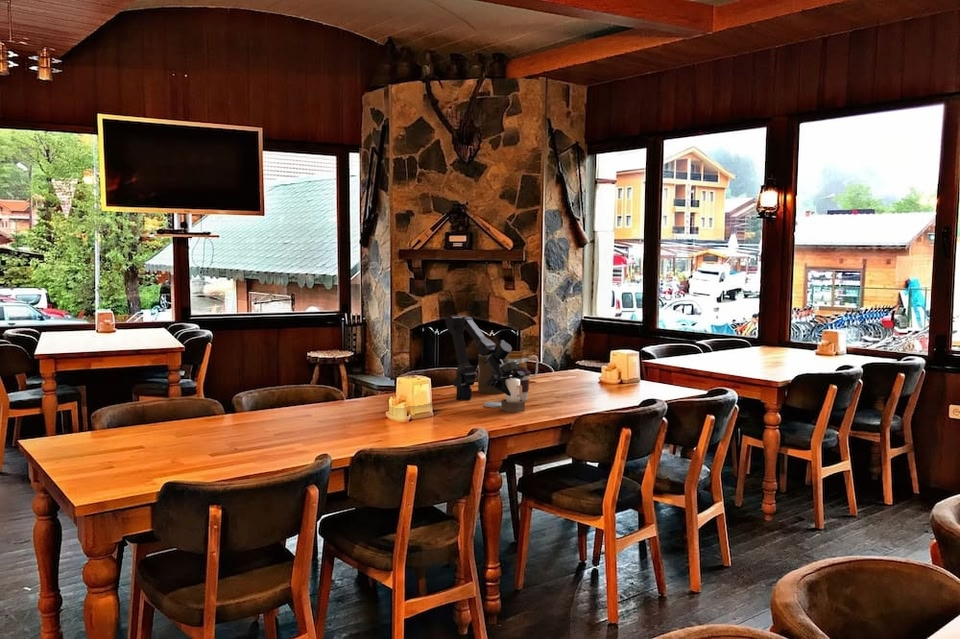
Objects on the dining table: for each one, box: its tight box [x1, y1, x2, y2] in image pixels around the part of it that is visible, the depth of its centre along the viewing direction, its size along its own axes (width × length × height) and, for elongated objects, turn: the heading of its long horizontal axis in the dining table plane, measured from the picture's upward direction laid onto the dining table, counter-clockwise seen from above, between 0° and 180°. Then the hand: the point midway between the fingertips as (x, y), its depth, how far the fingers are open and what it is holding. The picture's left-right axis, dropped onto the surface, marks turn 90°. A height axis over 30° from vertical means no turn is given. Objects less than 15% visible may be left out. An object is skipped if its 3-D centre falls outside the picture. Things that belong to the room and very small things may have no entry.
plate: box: [483, 401, 501, 409], centre depth 339 cm, size 10×10×1 cm
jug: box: [505, 378, 522, 403], centre depth 330 cm, size 8×6×13 cm
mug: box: [508, 350, 539, 378], centre depth 406 cm, size 20×14×15 cm
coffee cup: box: [510, 367, 531, 401], centre depth 352 cm, size 10×10×15 cm
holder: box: [500, 398, 526, 413], centre depth 331 cm, size 10×10×4 cm
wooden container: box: [477, 353, 508, 395], centre depth 375 cm, size 15×15×22 cm
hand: (515, 394), depth 329 cm, fingers closed on jug, 6 cm apart
